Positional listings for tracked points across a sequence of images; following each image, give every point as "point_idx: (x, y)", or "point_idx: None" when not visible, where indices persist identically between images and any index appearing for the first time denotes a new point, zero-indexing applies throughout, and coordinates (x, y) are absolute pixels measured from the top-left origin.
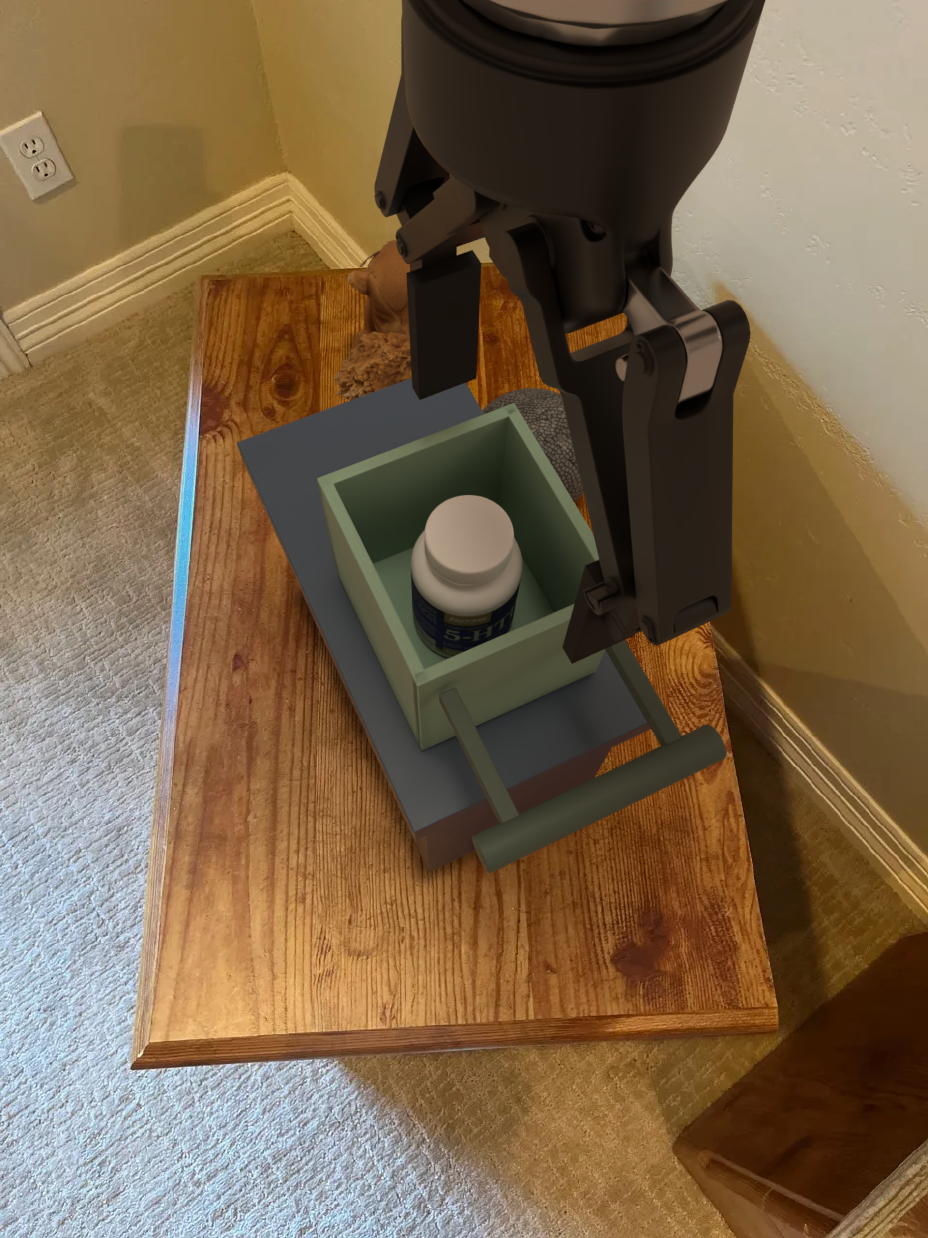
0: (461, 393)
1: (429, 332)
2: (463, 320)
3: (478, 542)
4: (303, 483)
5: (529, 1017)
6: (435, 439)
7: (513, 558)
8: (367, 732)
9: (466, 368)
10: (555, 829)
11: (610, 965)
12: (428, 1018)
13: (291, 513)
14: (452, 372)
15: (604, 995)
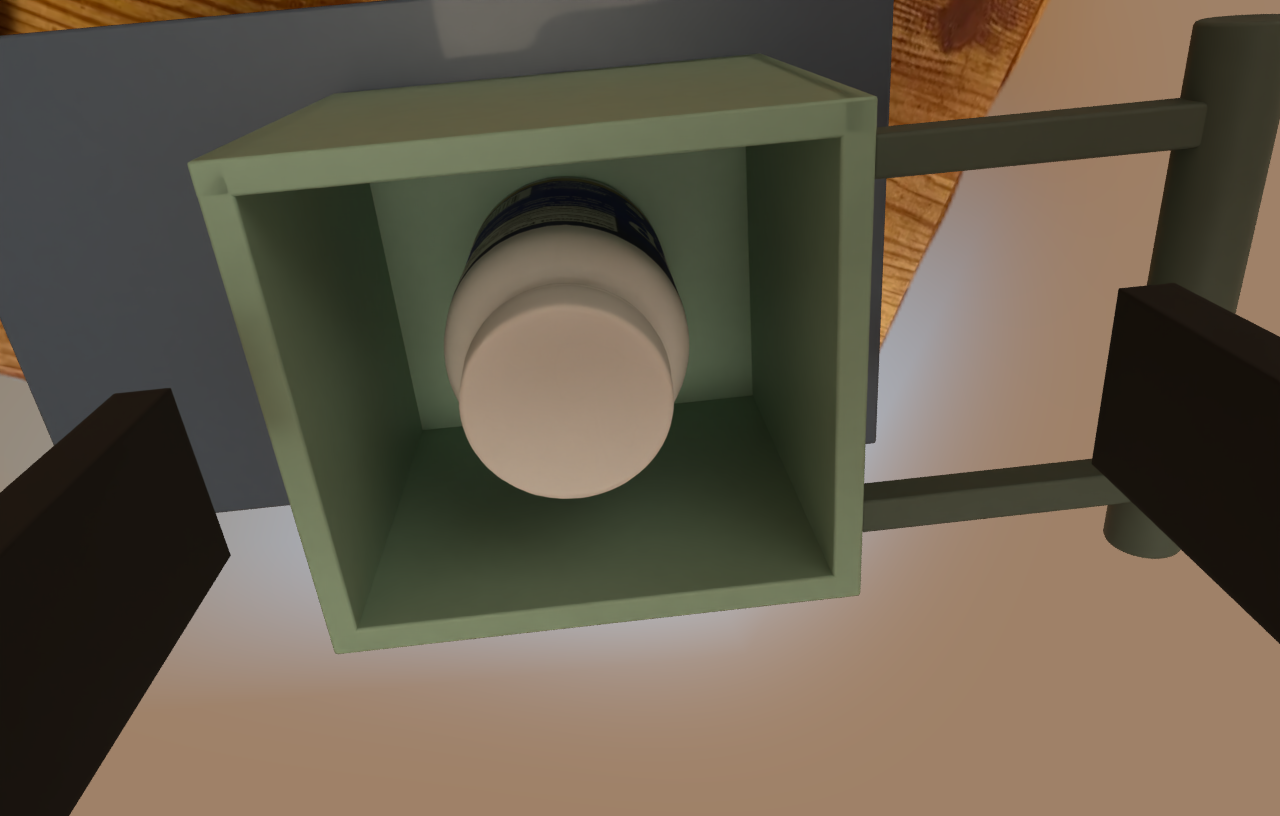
0: None
1: (79, 731)
2: (24, 618)
3: (599, 397)
4: (201, 443)
5: (951, 186)
6: (279, 404)
7: (607, 270)
8: None
9: (153, 454)
10: None
11: (950, 56)
12: (893, 301)
13: (264, 475)
14: (167, 501)
15: (977, 81)
